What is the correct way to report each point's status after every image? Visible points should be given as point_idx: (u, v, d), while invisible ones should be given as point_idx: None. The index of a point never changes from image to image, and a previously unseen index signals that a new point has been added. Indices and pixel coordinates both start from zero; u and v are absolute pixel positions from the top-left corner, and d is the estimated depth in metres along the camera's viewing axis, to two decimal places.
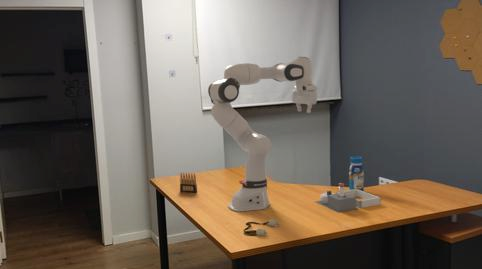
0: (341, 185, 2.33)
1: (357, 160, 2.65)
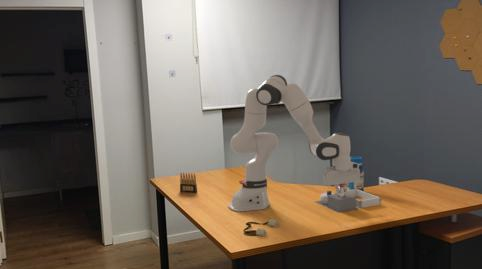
0: (341, 185, 2.33)
1: (357, 160, 2.65)
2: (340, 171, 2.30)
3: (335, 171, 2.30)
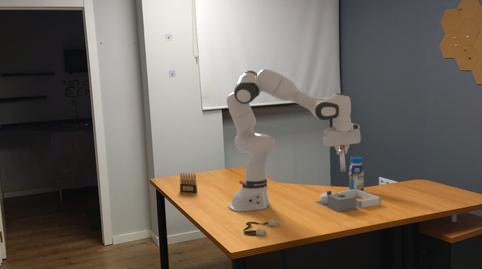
0: (341, 147, 2.31)
1: (357, 160, 2.65)
2: (340, 132, 2.28)
3: (335, 132, 2.27)
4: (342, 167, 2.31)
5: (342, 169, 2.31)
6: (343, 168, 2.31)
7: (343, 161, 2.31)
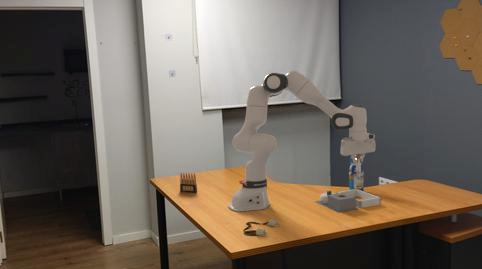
0: (357, 156, 2.42)
1: None
2: (357, 141, 2.39)
3: (352, 141, 2.38)
4: (358, 175, 2.43)
5: (358, 177, 2.43)
6: (359, 176, 2.42)
7: (359, 169, 2.42)
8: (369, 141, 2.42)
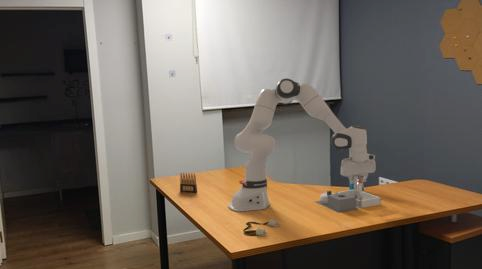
0: (359, 181, 2.42)
1: None
2: (357, 162, 2.40)
3: (352, 162, 2.40)
4: (358, 199, 2.44)
5: None
6: None
7: (360, 194, 2.43)
8: (369, 162, 2.43)
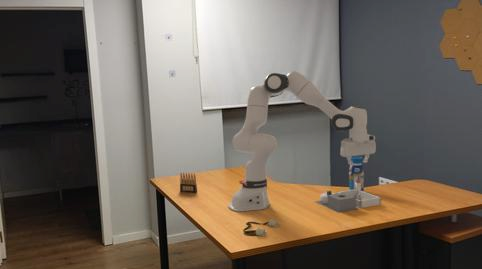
0: (358, 181, 2.42)
1: (357, 160, 2.65)
2: (357, 143, 2.38)
3: (352, 142, 2.38)
4: (358, 199, 2.44)
5: None
6: None
7: (359, 193, 2.43)
8: (369, 142, 2.42)
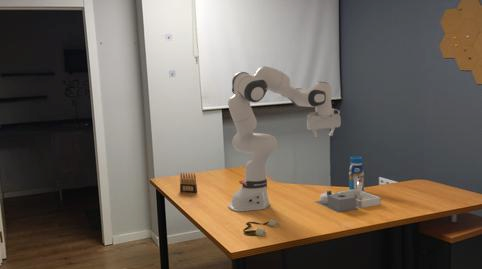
0: (360, 180, 2.43)
1: (357, 160, 2.65)
2: (322, 116, 2.53)
3: (317, 116, 2.53)
4: (359, 198, 2.44)
5: None
6: (359, 199, 2.44)
7: (360, 193, 2.44)
8: (334, 116, 2.56)
